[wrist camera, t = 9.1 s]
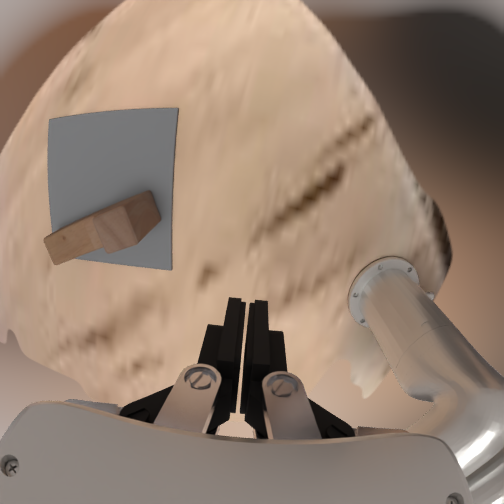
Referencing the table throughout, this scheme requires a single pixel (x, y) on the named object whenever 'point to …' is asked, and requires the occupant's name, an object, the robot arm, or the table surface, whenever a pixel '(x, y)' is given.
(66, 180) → the mat
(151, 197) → the wooden block
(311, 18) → the table surface
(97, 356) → the table surface
